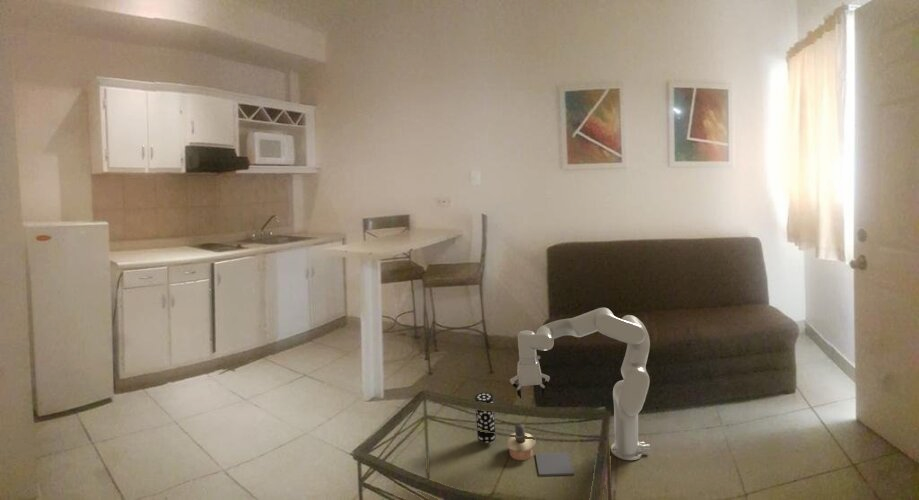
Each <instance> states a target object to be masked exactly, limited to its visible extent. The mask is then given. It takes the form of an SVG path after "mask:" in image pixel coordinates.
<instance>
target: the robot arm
mask: <svg viewBox="0 0 919 500" xmlns="http://www.w3.org/2000/svg"><path fill="white" fill-rule="evenodd" d="M597 332H599V333H600V334H602V335H604V336H606V337H609V338H611V339H613V340H617V341H618V342H622V343H626V344H627V345H626V351H625V355H624V358H623V361H622V364H621V367H620V373H621V376H622V378H623V379H621V380H619V381H617V382H616V383H615V384H614V386H613V389H612V390H613V391H612V399H613V413H614V414H613V415H614V417H613V419H614V421H613V424H614V425H613V426H614V431H613V432H614V443H612V444H611V446H610V451H611V453H612V454H613V455H614V456H615V457H616V458H618V459H621V460H624V461H635V460H636V461H637V460H639V459H641V458H642V457H643V450H651V446H650V443H649V444H648V443H647V444H646V443H645V441H639V413H640V412H641V411H642V409H643V406H644V403H645V401H646V397H647V394H648V392H649V387H650V376H649V373H648V371H647V369H646V368H647V366H646V365H647V361H648V357H649V353H650V347H651V341H650V336H649V333H648V330H647V328H646V326H645V325H644V323H643V321H641V320H640V319H639V318H638V317H636V316H635V315H630V314H627V315H624V316H622V317H621V318H619V317H617V316H615V315H614V313H613V312H612V311H611V310H610V309H609V308H607V307H598V308H595V309H594V310H590V311H588V312H585V313H582V314H580V315H577V316H574V317H572V318H570V317H569V318H564V319H558V320H554V321H553V320H552V321H551V322H548V323H546V324H543V325H541V326H539V328H538V329H537V330H536V333H535V332H534V331H532V330H528V329H526V330H525V329H524V330H521V331H519V332H518V334H517V345H518V346H517V347H518V356H519V357H518V358H519V360H518V361H517V372H516V373H517V374H516V375H514V376H512V377H511V378H510V379H509V382H510V383H511V386H512V387H513V388H514V389H516V392H517V393H516V394H517V397H519V399H522V391H521V388H522V387H524V386H525V387H526V386H527V387H528V386H538V385H539V387H540V389H539V390H540V395H541V398H544V395H545V392H546V391H545V388H546V387H547V385H548V383H549V381H550V380H551V377H550V375H548V374H545V373H542V370H541V366H540V361H539V360H540V359H541V355H538V353H537V350H538V351H549V350H552V349H553V347H554V343H555V339H557V338H560V337H563V336H573V337H575V338H583V337H585V336H588V335H591V334H594V333H597ZM543 379H545V380H544V381H543ZM515 381H517V383H516V382H515Z"/></svg>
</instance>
